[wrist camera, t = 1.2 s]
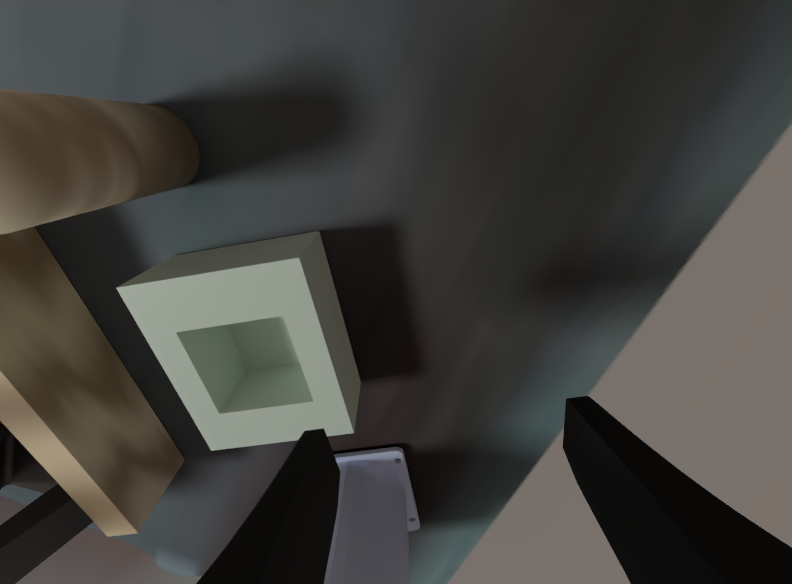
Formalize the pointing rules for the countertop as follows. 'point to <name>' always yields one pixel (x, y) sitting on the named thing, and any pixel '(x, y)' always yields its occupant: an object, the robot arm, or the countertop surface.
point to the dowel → (85, 155)
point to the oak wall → (75, 394)
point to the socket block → (251, 340)
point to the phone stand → (33, 513)
